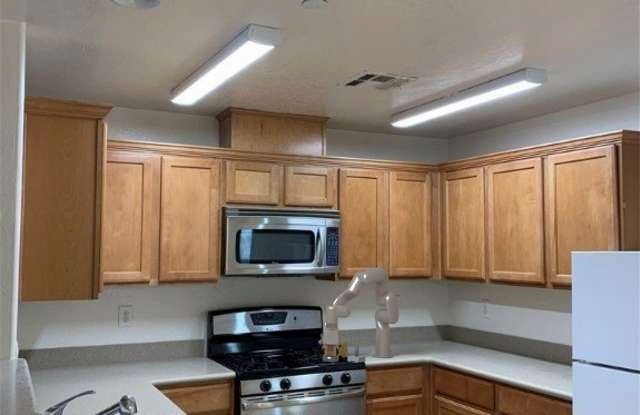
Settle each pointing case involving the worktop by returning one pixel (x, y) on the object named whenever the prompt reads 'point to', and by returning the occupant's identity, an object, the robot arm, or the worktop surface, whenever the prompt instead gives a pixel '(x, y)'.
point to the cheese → (343, 349)
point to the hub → (330, 358)
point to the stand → (356, 356)
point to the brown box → (330, 350)
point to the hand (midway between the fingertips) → (330, 354)
